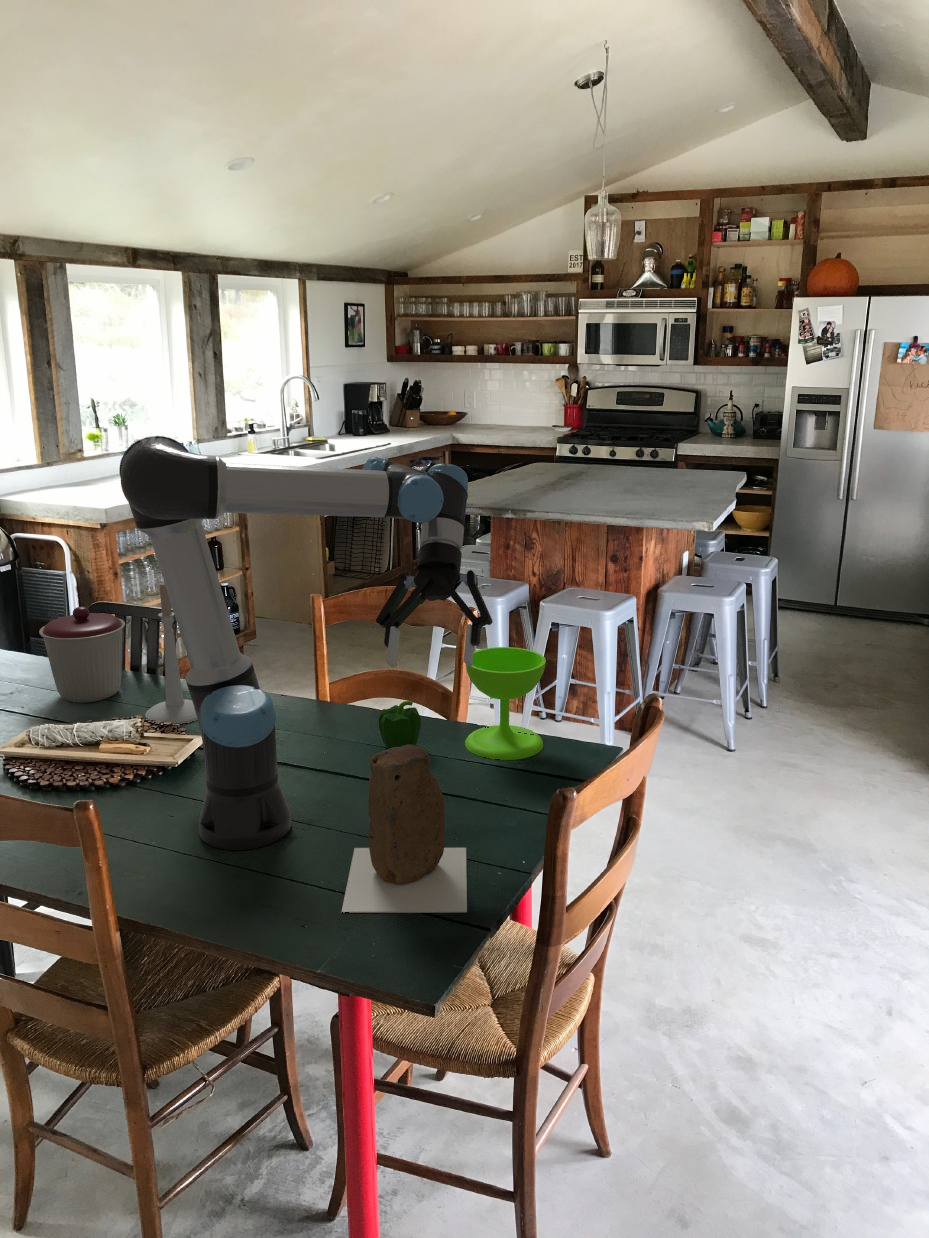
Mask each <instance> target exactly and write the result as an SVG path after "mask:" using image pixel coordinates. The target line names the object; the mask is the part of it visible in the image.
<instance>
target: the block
mask: <svg viewBox="0 0 929 1238" xmlns="http://www.w3.org/2000/svg"><path fill="white" fill-rule="evenodd" d="M431 763H432V761H431V758H430V754H429V753H428V751H427V750H426V749H425V748H424V747H421V746H418V745H412V744H408V745H404V746H402V747H393V748H390V749H388V748H387V749H385V750H382V751H379V752H377V753H375V754H372V756H371V757H370V762H369V768H370V772H371V774H370V775H369V780H368V781H369V782H368V816H369V822H368V845H369V847H368V848H369V850H370V857H371V862H372V865H373V867H374V869H375V871H376V873H377V874H378V875H379V876H380V877H381V878H382V879H383V880H385V881H387V882H392V883H399V884H402V883H410V882H413V881H416V880H418V879H420V878H422V877H423V876H424V875H426V874H429V873H430V872H432V871H434V870H435V868H436V866H437V865H438V863H439V861H440V859H441V857H442V856H443V853H444V848H445V835H446V834H445V833H446V832H445V831H446V828H445V827H446V822H445V819H446V818H445V814H446V813H445V799H444V794H443V792H442V789H441V788H440V785H439V783H438V781H437V779H436V777H435V775H434V774H433V773H432V772H431Z"/></svg>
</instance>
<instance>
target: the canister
mask: <svg viewBox="0 0 929 1238" xmlns="http://www.w3.org/2000/svg"><path fill="white" fill-rule="evenodd" d="M125 626H126V622H125V621H124V620H123V619H121V618H118V617H116V616H115V615H112V614H107V613H100V612H98V613H97V612H90V610H89V608H87V607H85V606H78V607H75V608H74V609H73V611H72V614H70V615H65V616H61V617H58V618H56V619H53V620H50V621H49V622H48V623H47V624H45V625H44V626H42V627H41V628H40V629H39V631H38V633H39V636H41V637H42V638H43V642H44V645H45V646H44V647H45V650H46V654H47V658H48V661H49V666H50V670H51V673H52V678H53V680H54V684H55V687H56V690H57V693H58V694H59V696H60V697H61V698H63V700H65V701H67V702H71V703H83V704H84V703H92V702H94V703H95V702H99V701H102V700H105V699H108V698H110V697H113V696H115V695H116V694H117V692H118V691H119V689H120V688H121V684H122V683H121V682H122V675H123V674H122V673H123V671H122V670H123V630H124V628H125Z"/></svg>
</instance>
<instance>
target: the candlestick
mask: <svg viewBox="0 0 929 1238" xmlns="http://www.w3.org/2000/svg"><path fill="white" fill-rule="evenodd" d="M158 586H159V595H160V607H161V612H160V613H158V614H157V616H158V617H159V618H160V623H161V624H162V625H163V631H162V632H163V644H164V645H163V647H164V651H163V652H164V674H165V675H164V676H165V678H164V679H165V680H164V681H165V700H164V701H162V702H159V703H157V704H155V705H153V706H152V707H150V708H148V710H147V711H146V712H145V714H144V718H145V717H146V718H148V719H150V720H159V721H167V722H171V723H181V724H182V723H188V724H191V723H193V722H192V721H194V722H197V721H198V718H197V715H196V712H195V709H194V705H193V702H192V699H186V698H185V699H184V697H183V694H184V693H183V689H182V683H181V677H180V676H181V675H180V668H179V662H178V654H177V649H176V647H177V646H176V642H175V635H174V634H175V633H174V632H175V630H174V629H173V623H174V622H175V619H174V618H175V615H174V612H173V609H172V605H171V602H170V599H169V596H168V593H167V590H166V586H165V583H164V582H160V583H159V585H158ZM196 720H197V721H196ZM190 722H191V723H190Z"/></svg>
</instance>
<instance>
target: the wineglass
mask: <svg viewBox="0 0 929 1238" xmlns="http://www.w3.org/2000/svg"><path fill="white" fill-rule="evenodd" d="M546 661H547V660H546V657H545V656H544V655H543V654H541V653H539V652H537V651H534V650H531V649H526V648H521V647H512V646H497V647H486V648H481V649H477V650H474V653H473V665H472V666H467V665H466V664H465V669H466V673H467V676H468V678H469V679H470V681H471V683H472V684H473V685H474V686H475V688H476V689H477V690H478V691H479V692H481V693H482V694H484V695H485V696H486V697H489V698H492V699H495V700H499V724H497V725H496V724H495V725H487V726H484V727H480V728H478V729H476V730H473V731H472V732H471V733H470V734H468V736H467V737H466V739H465V741H464V745H465V748H466V749H467V751H468V752H471V754H473V753H474V754H473V755H475V754H476V756H478V755H479V756H478V757H480V756H482V757H481V758H484V757H486V758H485V759H488V758H490V760H495V759H500V760H499V761H515V760H523V759H527V758H529V757H532V756H535V755H537V754H539V753H540V752H541V751H542V750H543V749H544V746H545V745H544V741H543V738H542V737H541V735H539V734H538V733H536V732H535V731H533V730H532V729H529V728H527V727H524V726H523V727H522V726H517V725H510V700H516V699H520V698H521V697H522V698H523V697H524V696H525V695H527V694H528V693H530V692H531V691H533V690H534V689H535V688H536V686H538V684H539V683H540V680H541V678H542V677H543V675H544V672H545V668H546ZM485 727H486V728H485ZM487 727H489V728H487ZM518 732H521V733H518ZM524 733H527V734H524ZM530 734H534V735H530Z"/></svg>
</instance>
